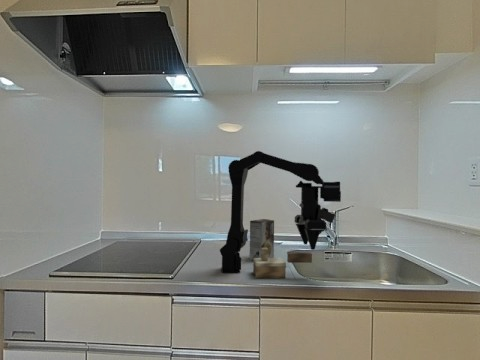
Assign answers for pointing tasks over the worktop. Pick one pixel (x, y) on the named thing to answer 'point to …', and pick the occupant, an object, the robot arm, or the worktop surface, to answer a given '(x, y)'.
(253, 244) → the coffee box
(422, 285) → the worktop surface
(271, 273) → the open wooden box
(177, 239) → the worktop surface
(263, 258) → the lid
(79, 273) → the worktop surface
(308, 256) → the brown rectangular block
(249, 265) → the worktop surface
